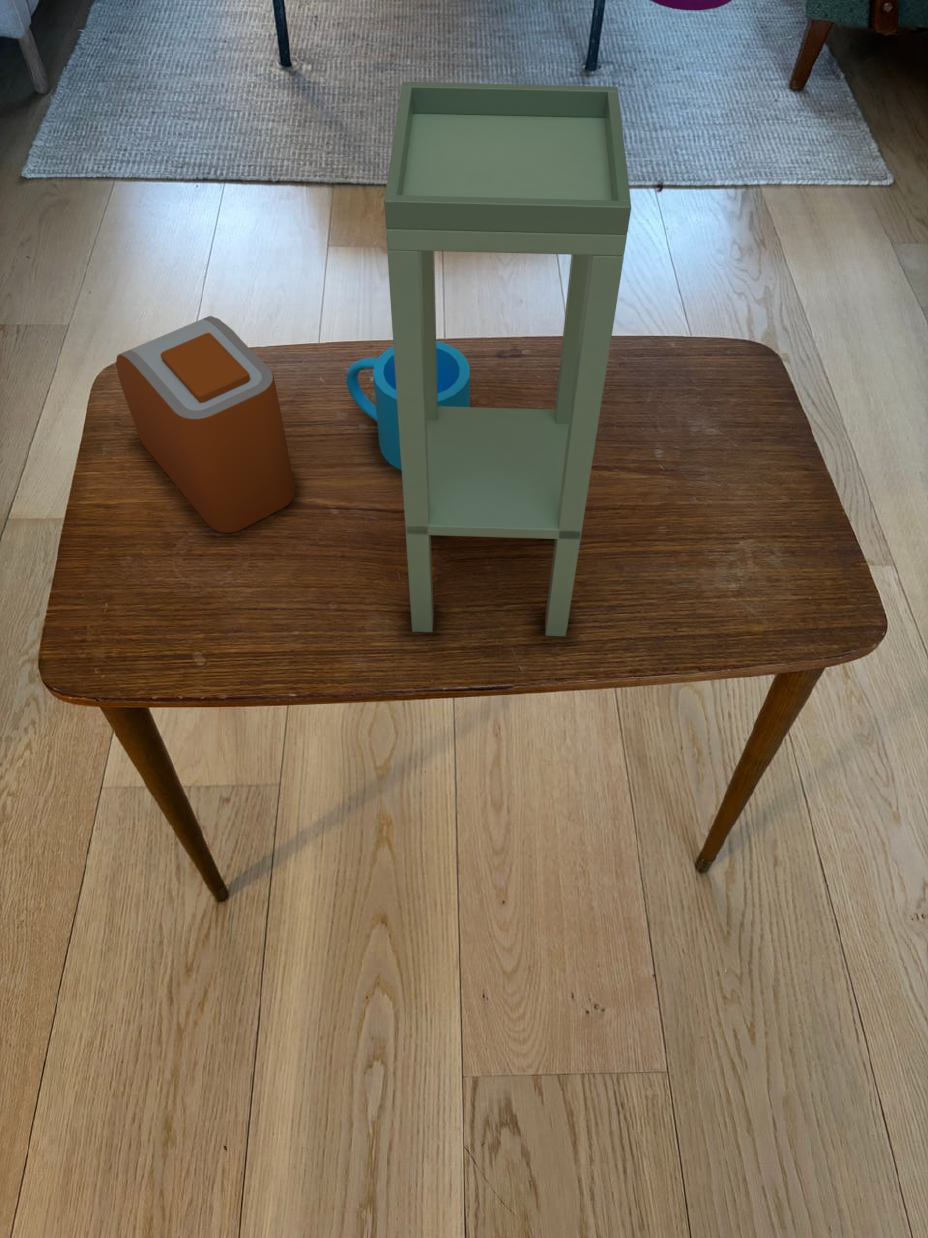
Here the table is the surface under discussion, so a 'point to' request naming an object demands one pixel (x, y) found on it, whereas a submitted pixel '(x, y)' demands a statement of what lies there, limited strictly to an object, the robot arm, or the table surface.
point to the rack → (503, 223)
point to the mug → (449, 389)
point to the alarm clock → (211, 422)
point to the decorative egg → (692, 4)
